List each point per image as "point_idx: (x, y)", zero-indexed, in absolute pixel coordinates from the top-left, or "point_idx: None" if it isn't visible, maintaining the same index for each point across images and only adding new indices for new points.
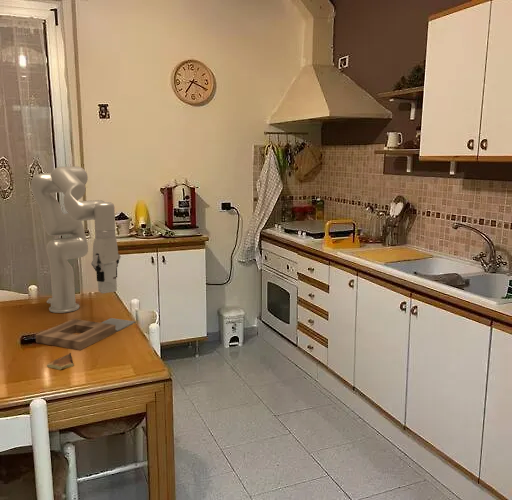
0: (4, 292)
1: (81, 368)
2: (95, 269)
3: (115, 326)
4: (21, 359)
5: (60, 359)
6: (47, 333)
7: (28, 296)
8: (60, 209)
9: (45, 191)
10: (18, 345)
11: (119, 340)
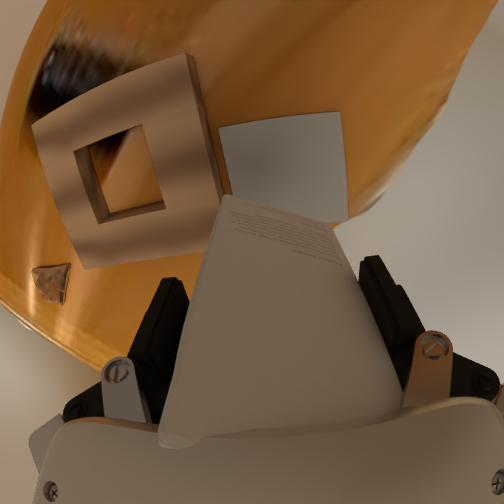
0: None
1: (73, 317)
2: (94, 392)
3: (269, 200)
4: (8, 201)
5: (48, 277)
6: (50, 141)
7: None
8: None
9: None
10: (21, 112)
11: None
